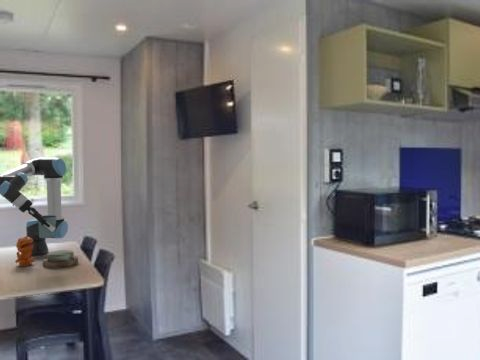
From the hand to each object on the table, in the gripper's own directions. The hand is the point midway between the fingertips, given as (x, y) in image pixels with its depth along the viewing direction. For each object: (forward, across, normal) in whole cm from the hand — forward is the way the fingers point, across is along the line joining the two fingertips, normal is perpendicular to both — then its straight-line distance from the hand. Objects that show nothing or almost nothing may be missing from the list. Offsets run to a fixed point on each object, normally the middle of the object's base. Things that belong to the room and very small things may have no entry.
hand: (53, 228), depth 266 cm
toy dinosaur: (+6, -13, -27) cm, 31 cm away
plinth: (+19, -6, -13) cm, 24 cm away
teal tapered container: (+1, 0, -6) cm, 6 cm away
